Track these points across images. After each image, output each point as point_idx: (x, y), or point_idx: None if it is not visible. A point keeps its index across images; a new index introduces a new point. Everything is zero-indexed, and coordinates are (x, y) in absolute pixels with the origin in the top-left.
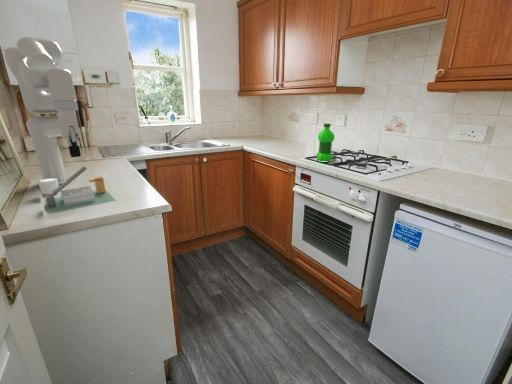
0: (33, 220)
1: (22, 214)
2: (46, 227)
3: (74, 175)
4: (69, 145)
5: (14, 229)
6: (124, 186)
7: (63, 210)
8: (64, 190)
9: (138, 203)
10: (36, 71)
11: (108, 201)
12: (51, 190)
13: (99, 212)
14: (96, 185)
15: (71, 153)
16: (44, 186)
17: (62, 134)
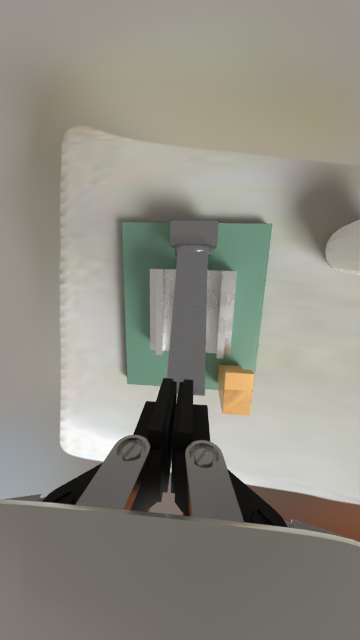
0: (129, 187)
1: (201, 159)
2: (60, 214)
3: (183, 333)
4: (190, 446)
5: (88, 141)
6: (274, 439)
7: (125, 261)
8: (223, 282)
9: (104, 417)
10: None
11: (130, 368)
12: (337, 249)
13: (93, 333)
14: (221, 377)
15: (158, 396)
16: (358, 226)
17: (31, 603)
